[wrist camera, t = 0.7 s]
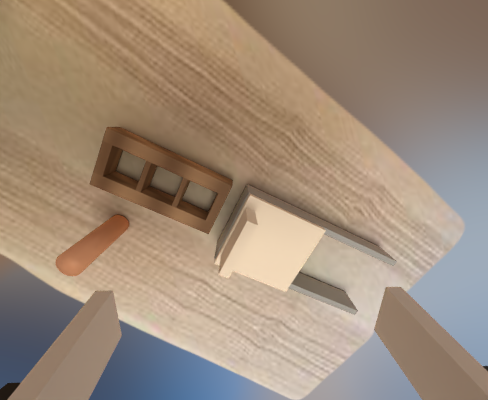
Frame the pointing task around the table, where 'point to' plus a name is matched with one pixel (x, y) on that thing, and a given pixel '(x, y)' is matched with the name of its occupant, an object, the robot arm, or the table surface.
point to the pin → (91, 246)
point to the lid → (267, 244)
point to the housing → (307, 283)
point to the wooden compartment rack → (141, 189)
